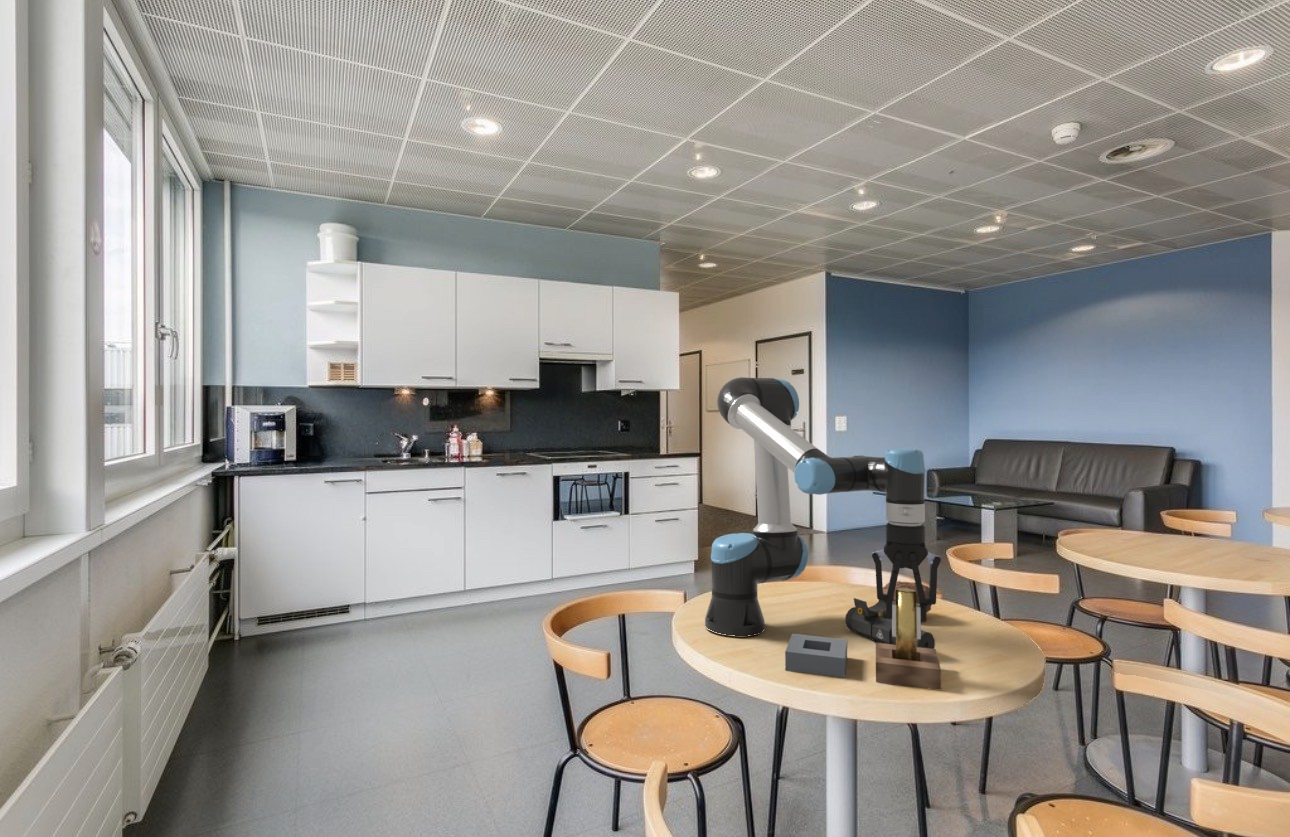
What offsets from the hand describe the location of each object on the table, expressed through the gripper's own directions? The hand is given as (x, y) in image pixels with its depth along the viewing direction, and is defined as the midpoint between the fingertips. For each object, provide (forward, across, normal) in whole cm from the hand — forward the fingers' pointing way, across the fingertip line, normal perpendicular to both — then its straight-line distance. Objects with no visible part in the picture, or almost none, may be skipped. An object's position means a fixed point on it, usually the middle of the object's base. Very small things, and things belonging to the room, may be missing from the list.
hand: (906, 635), depth 131 cm
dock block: (+8, 0, 0) cm, 8 cm away
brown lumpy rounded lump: (+8, +2, +42) cm, 43 cm away
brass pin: (+7, 0, 0) cm, 7 cm away
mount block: (+8, -18, 0) cm, 20 cm away
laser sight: (+9, -4, +19) cm, 21 cm away
